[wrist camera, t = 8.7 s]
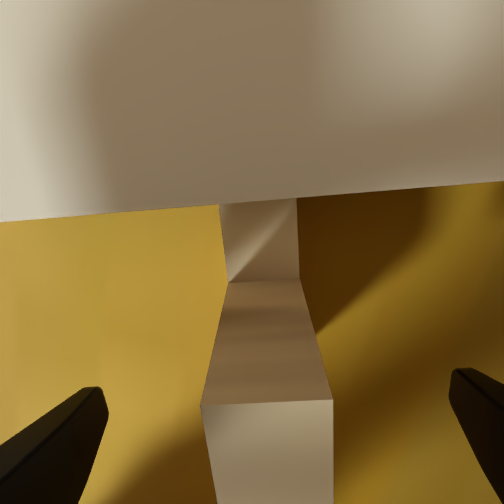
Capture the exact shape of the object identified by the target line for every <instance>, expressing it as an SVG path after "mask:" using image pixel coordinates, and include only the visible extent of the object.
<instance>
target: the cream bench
mask: <svg viewBox="0 0 504 504" xmlns="http://www.w3.org/2000/svg"><path fill="white" fill-rule="evenodd" d="M496 181H504V0H0V222H7V221H19V220H32V219H44V218H56V217H68V216H80V215H93V214H105V213H117V212H129V211H142V210H154V209H166V208H178V207H191V206H203V205H215V204H227V203H239V202H252V201H264V200H276V199H288V198H301V197H313V196H325V195H337V194H349V193H362V192H374V191H386V190H398V189H411V188H423V187H435V186H447V185H459V184H472V183H484V182H496Z"/></svg>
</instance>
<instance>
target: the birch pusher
mask: <svg viewBox="0 0 504 504" xmlns="http://www.w3.org/2000/svg"><path fill="white" fill-rule="evenodd" d="M219 212H220V220H221V228H222V236H223V245H224V253H225V261H226V269H227V277H228V286H227V291H226V295H225V299H224V304H223V308H222V312H221V317H220V321H219V325H218V330H217V334H216V338H215V343H214V347H213V351H212V356H211V360H210V365H209V369H208V373H207V378H206V382H205V386H204V391H203V395H202V399H201V404H200V409H201V414H202V420H203V425H204V431H205V436H206V442H207V448H208V453H209V459H210V464H211V470H212V475H213V481H214V487H215V492H216V498H217V503H218V504H334V464H333V397H332V393H331V390H330V386H329V383H328V379H327V375H326V372H325V368H324V364H323V361H322V357H321V354H320V350H319V346H318V343H317V339H316V335H315V332H314V328H313V325H312V321H311V317H310V314H309V310H308V306H307V303H306V299H305V296H304V292H303V288H302V285H301V281H300V273H299V249H298V226H297V202H296V198H288V199H276V200H264V201H252V202H239V203H227V204H219Z"/></svg>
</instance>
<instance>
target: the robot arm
mask: <svg viewBox="0 0 504 504" xmlns="http://www.w3.org/2000/svg"><path fill="white" fill-rule="evenodd" d="M449 401H450V404H451V406H452V409H453V411H454V413H455V415H456V417H457V419H458V421H459V423H460V425H461V427H462V429H463V431H464V433H465V436H466V438H467V440H468V442H469V444H470V446H471V448H472V450H473V452H474V454H475V456H476V458H477V460H478V462H479V464H480V466H481V468H482V470H483V472H484V473H485V475H486V477H487V479H488V480H489V482H490V484H491V485H492V487H493V489H494V490H495V492H496V494H497V496H498V497H499V499H500V501H501V502H502V504H504V384H502V383H500V382H498V381H496V380H494V379H492V378H490V377H489V376H487V375H485V374H483V373H481V372H479V371H477V370H475V369H473V368H456V369H454V370H453V371H452V374H451V381H450V388H449ZM108 417H109V411H108V407H107V404H106V400H105V397H104V394H103V391H102V389H101V388H100V387H85V388H82V389H81V390H79V391H78V392H77V393H75V394H74V395H72V396H71V397H69V398H68V399H66V400H65V401H64V402H62V403H61V404H59V405H58V406H56V407H55V408H53V409H52V410H51V411H49V412H48V413H46V414H45V415H43V416H42V417H40V418H39V419H38V420H36V421H35V422H33V423H32V424H30V425H29V426H27V427H26V428H25V429H23V430H22V431H20V432H19V433H17V434H16V435H15V436H13V437H12V438H10V439H9V440H7V441H6V442H4V443H3V444H2V445H0V504H78V502H79V500H80V498H81V495H82V493H83V491H84V488H85V486H86V483H87V481H88V478H89V475H90V472H91V469H92V466H93V463H94V460H95V457H96V454H97V451H98V448H99V445H100V442H101V439H102V436H103V433H104V430H105V427H106V424H107V421H108Z"/></svg>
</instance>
